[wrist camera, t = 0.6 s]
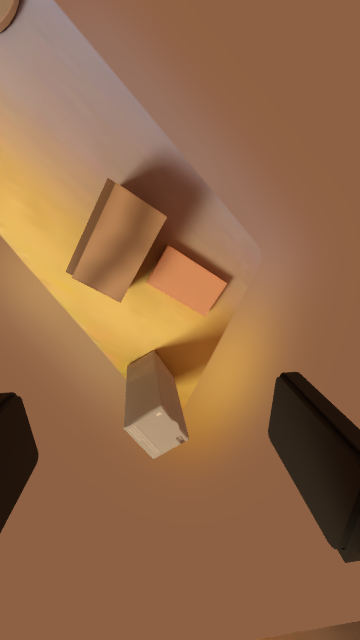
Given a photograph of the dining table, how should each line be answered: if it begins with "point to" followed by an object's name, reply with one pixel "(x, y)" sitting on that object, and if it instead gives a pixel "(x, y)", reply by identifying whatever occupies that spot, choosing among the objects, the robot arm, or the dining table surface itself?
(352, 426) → the robot arm
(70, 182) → the dining table surface
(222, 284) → the terracotta tile
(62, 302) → the dining table surface
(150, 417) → the skincare box
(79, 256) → the tan open box
